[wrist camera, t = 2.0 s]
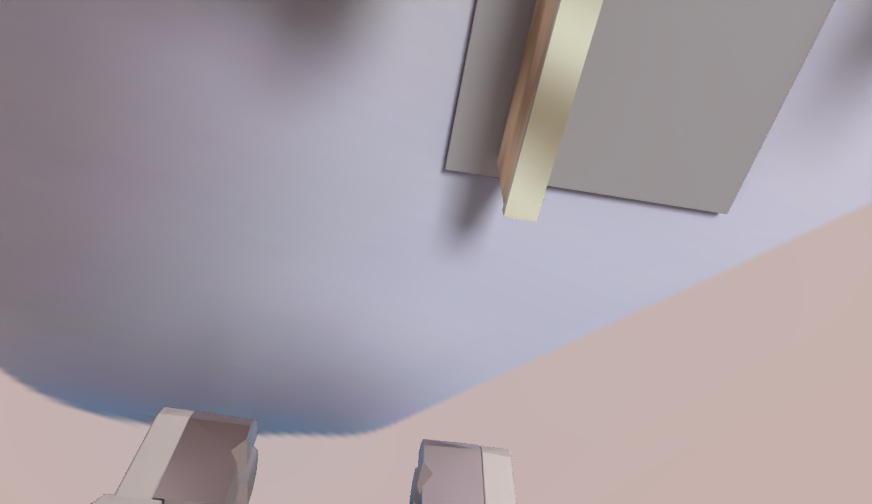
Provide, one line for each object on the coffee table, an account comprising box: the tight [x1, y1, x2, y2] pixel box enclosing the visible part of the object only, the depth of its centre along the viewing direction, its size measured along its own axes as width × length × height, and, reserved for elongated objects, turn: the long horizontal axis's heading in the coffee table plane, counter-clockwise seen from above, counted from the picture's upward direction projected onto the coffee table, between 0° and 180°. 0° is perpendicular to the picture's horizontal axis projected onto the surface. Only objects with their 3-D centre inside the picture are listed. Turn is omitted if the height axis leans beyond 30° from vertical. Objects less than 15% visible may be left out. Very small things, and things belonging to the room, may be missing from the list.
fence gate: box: [497, 0, 603, 222], centre depth 24 cm, size 12×1×5 cm, turn 171°
